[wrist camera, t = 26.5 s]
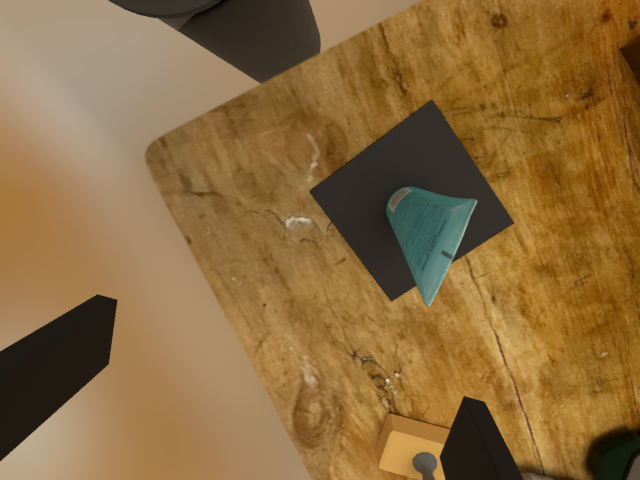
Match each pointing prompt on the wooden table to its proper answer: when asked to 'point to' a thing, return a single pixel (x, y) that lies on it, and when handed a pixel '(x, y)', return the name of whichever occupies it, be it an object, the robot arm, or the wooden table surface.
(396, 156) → the mat
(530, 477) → the grey lumpy oval block
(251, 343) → the wooden table surface
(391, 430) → the rubber stamp
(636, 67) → the square wooden frame
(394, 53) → the wooden table surface
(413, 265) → the tube
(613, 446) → the flat green button pad
